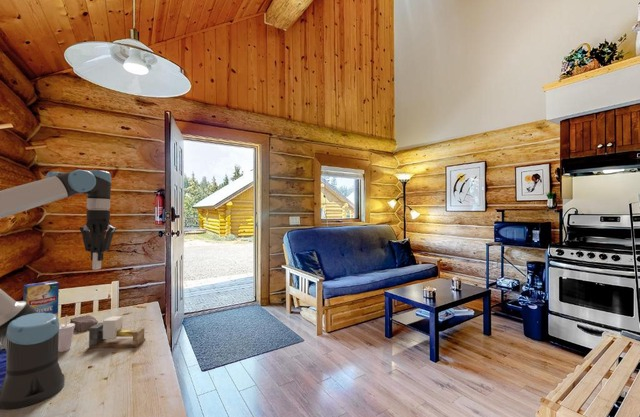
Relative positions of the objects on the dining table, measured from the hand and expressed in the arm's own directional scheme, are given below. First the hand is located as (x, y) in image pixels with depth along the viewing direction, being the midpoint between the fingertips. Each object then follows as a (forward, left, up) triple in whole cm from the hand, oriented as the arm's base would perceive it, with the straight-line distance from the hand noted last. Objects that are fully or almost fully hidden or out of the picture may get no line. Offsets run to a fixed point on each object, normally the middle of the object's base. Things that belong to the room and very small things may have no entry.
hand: (96, 268), depth 116 cm
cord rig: (+10, -3, -34) cm, 36 cm away
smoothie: (+5, +16, -34) cm, 38 cm away
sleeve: (+10, -1, -31) cm, 33 cm away
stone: (+29, +25, -35) cm, 51 cm away
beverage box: (+25, +42, -34) cm, 60 cm away
